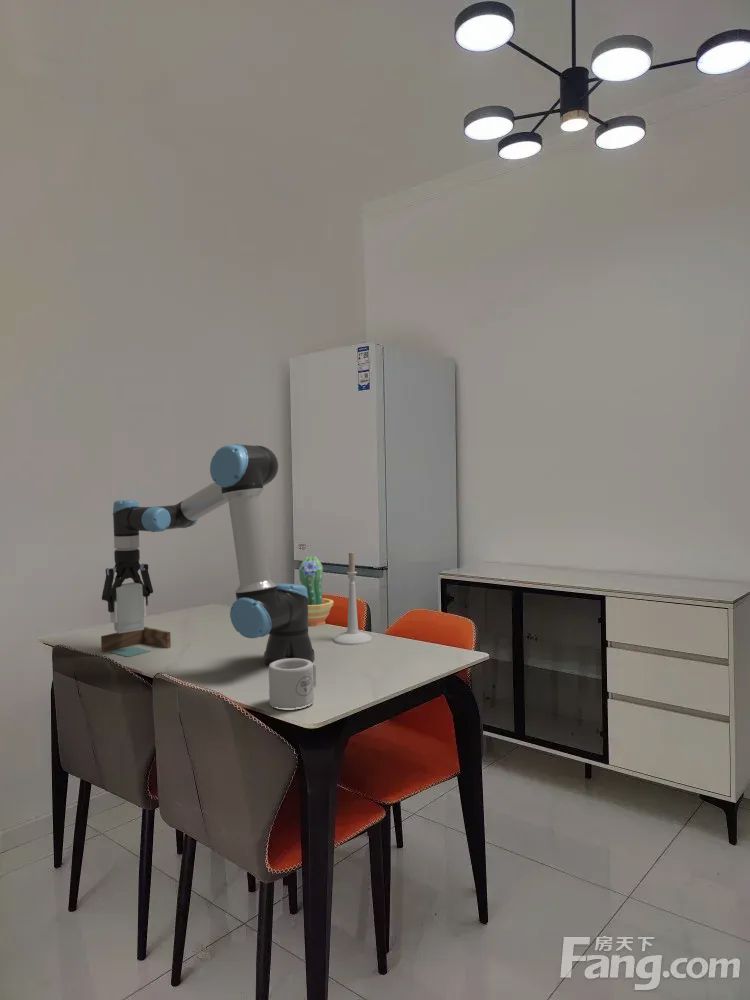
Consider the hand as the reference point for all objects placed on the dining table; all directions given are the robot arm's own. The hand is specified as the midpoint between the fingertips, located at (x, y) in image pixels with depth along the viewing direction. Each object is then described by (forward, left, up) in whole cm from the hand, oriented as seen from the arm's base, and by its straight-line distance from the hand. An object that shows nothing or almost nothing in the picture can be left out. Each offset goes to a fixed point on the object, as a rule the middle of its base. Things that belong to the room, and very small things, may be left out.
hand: (128, 619), depth 220 cm
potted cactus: (-20, -64, -11) cm, 68 cm away
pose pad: (0, 0, -10) cm, 10 cm away
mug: (-77, +4, -11) cm, 78 cm away
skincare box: (0, 0, -4) cm, 4 cm away
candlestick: (-49, -52, -11) cm, 72 cm away
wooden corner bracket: (+1, -3, -10) cm, 11 cm away
